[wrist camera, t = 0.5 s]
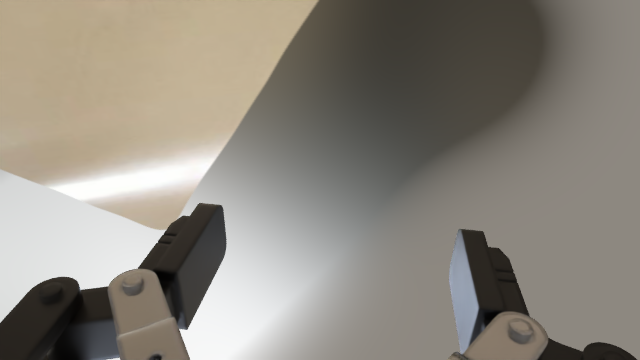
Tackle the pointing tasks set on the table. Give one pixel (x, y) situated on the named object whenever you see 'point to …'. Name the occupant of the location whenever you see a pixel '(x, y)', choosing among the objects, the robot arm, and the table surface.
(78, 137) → the table surface
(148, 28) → the table surface
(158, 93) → the table surface
